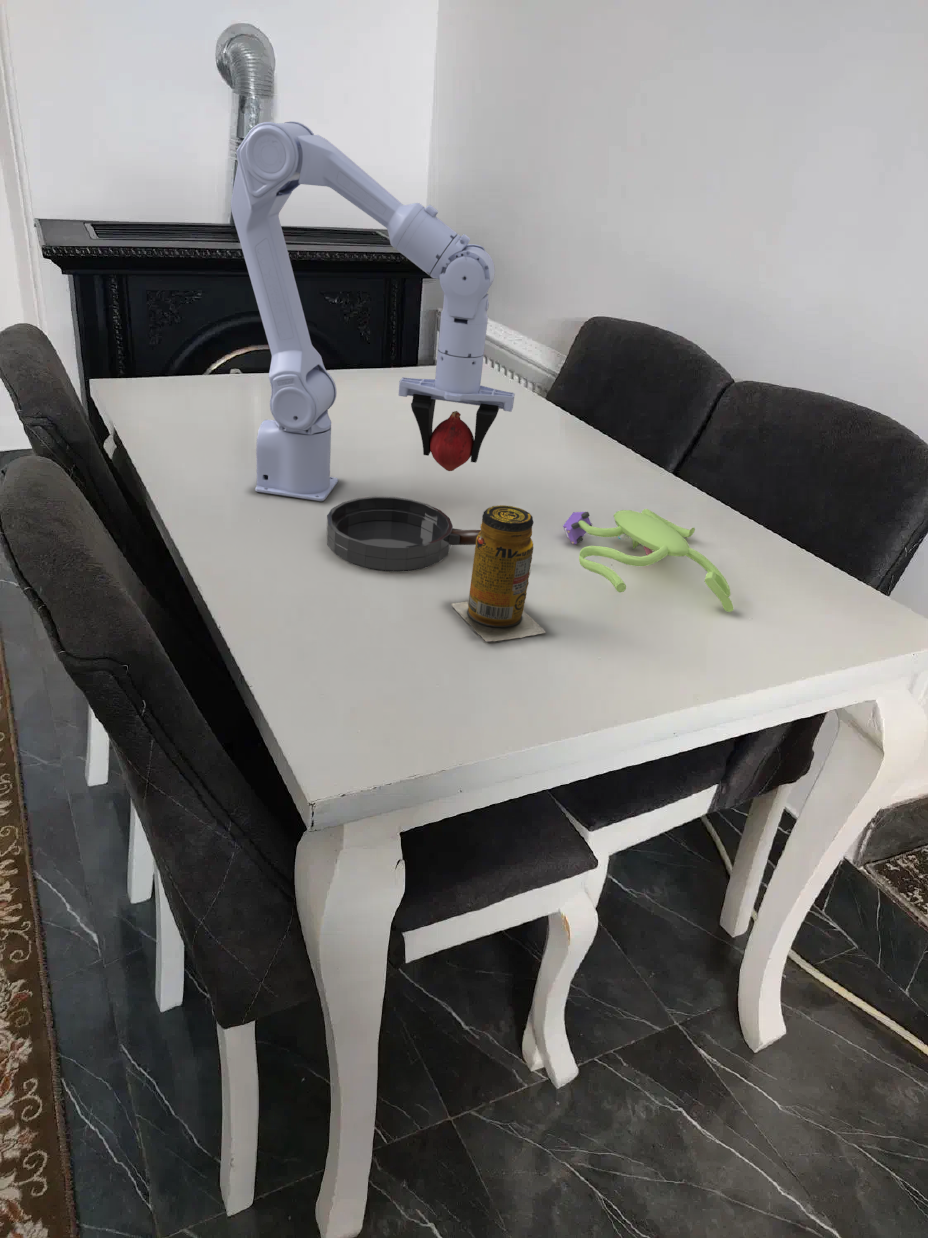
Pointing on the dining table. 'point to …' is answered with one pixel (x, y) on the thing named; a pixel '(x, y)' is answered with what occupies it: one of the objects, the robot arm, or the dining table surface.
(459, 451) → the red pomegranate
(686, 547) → the figurine
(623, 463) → the dining table surface
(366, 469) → the dining table surface
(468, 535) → the pan handle
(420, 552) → the pan
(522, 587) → the condiment
